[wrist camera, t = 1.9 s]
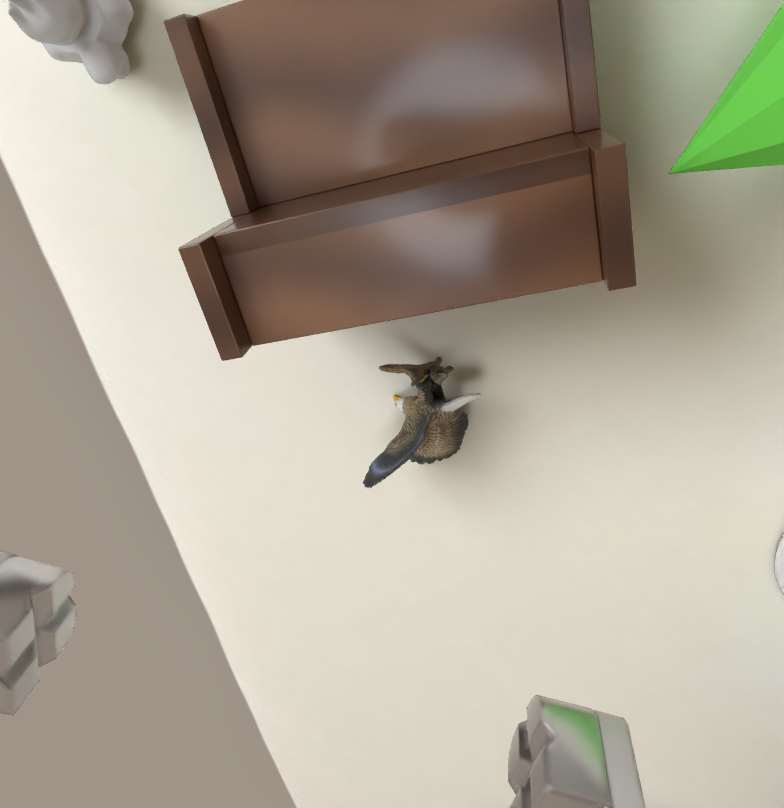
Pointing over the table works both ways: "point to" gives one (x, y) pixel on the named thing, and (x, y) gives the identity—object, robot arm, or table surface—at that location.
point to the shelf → (397, 161)
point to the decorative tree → (745, 113)
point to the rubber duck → (79, 32)
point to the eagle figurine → (422, 422)
